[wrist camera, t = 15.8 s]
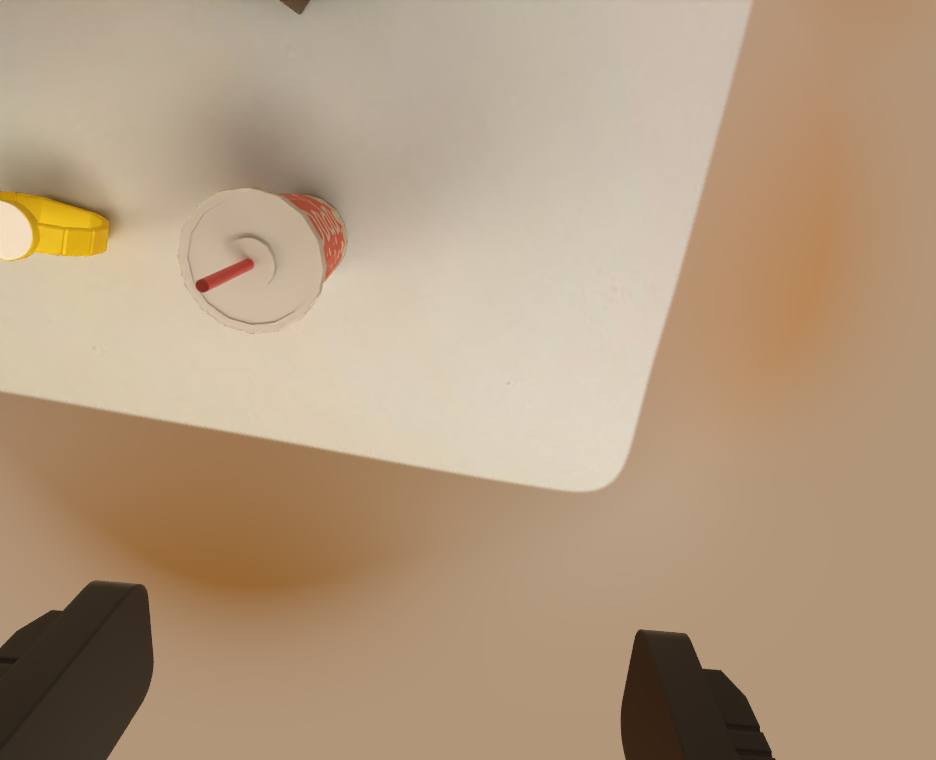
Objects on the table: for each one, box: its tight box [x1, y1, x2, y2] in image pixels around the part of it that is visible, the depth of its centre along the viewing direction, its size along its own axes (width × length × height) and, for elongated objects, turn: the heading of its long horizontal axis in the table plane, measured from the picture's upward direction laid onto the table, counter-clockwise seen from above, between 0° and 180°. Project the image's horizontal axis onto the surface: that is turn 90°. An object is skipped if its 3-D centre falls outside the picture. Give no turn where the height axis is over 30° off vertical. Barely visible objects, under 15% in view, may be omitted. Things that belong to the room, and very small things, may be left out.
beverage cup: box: [178, 187, 347, 334], centre depth 30 cm, size 6×6×14 cm
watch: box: [0, 191, 110, 261], centre depth 34 cm, size 6×3×6 cm, turn 72°
